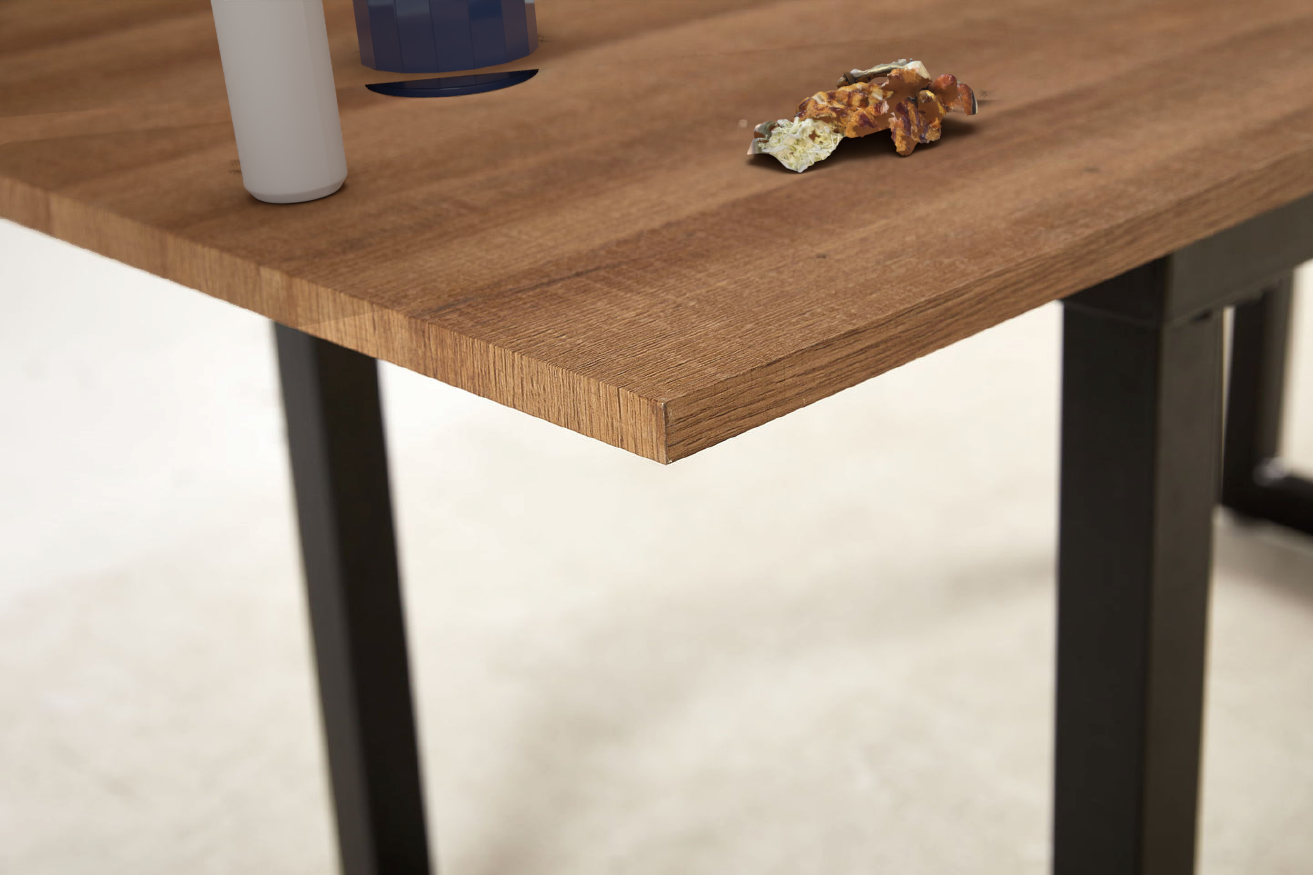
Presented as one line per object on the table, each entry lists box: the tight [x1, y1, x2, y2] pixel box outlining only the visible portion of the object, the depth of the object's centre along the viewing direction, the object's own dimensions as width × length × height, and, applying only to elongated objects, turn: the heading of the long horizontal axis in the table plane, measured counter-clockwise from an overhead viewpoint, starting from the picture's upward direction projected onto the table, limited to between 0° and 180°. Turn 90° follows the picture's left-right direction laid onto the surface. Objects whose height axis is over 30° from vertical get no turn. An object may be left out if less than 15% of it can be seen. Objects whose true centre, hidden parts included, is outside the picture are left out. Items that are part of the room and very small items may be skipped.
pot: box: [352, 0, 540, 99], centre depth 91 cm, size 10×10×8 cm
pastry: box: [746, 57, 979, 173], centre depth 75 cm, size 7×12×4 cm, turn 133°
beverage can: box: [210, 0, 349, 204], centre depth 71 cm, size 5×5×12 cm
